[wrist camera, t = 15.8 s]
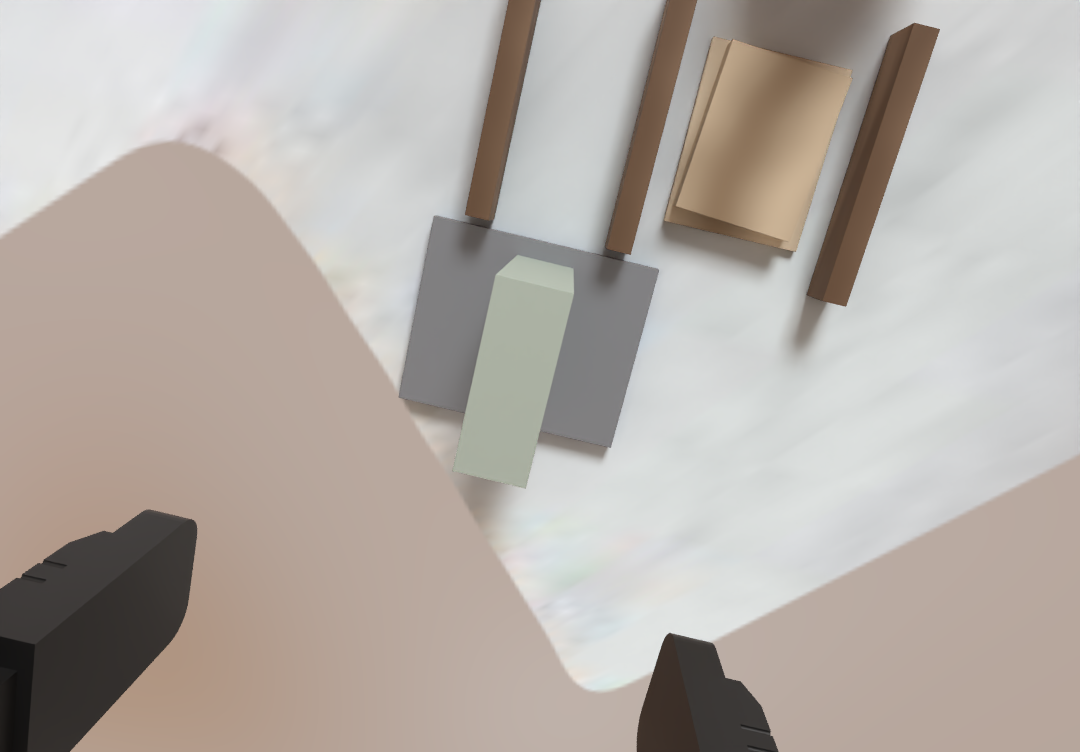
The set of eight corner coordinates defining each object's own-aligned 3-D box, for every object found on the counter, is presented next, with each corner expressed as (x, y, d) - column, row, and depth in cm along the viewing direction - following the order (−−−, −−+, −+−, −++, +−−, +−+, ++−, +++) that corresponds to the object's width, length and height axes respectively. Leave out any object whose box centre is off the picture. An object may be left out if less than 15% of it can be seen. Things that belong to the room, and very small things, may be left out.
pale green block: (573, 268, 38) (574, 293, 27) (538, 411, 39) (525, 488, 29) (517, 254, 37) (495, 274, 27) (484, 398, 39) (452, 471, 29)
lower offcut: (843, 74, 36) (852, 70, 35) (788, 250, 38) (795, 251, 37) (709, 41, 36) (713, 36, 35) (661, 220, 38) (664, 220, 37)
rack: (914, 41, 35) (940, 29, 33) (828, 300, 38) (846, 306, 36) (526, -54, 35) (523, -74, 32) (471, 214, 38) (464, 215, 35)
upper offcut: (842, 82, 35) (852, 78, 34) (782, 240, 37) (789, 242, 36) (727, 44, 35) (732, 39, 34) (672, 205, 37) (675, 205, 36)
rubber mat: (657, 268, 38) (659, 270, 37) (610, 443, 40) (610, 447, 40) (436, 215, 38) (433, 215, 37) (402, 393, 40) (398, 397, 40)
